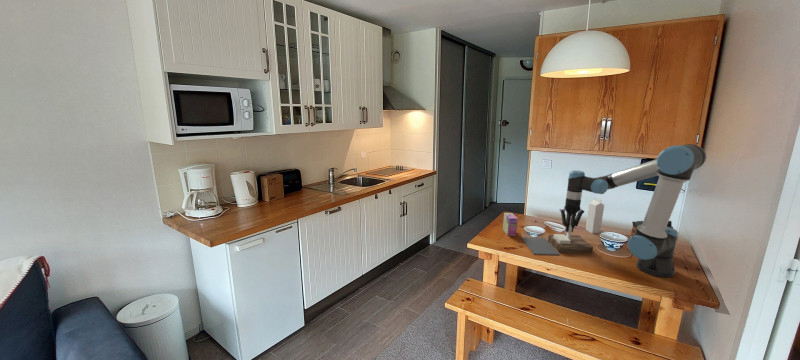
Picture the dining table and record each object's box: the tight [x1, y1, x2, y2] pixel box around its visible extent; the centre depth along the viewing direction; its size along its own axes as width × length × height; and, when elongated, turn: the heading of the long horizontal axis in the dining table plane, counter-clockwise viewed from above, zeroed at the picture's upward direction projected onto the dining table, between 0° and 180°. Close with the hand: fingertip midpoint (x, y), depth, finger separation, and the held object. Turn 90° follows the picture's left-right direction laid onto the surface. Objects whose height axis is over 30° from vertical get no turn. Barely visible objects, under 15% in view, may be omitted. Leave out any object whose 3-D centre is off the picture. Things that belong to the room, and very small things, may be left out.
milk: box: [585, 197, 605, 234], centre depth 211 cm, size 6×6×22 cm
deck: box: [547, 234, 594, 255], centre depth 190 cm, size 16×18×4 cm
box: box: [502, 212, 519, 237], centre depth 210 cm, size 10×6×12 cm, turn 179°
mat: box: [521, 237, 561, 256], centre depth 191 cm, size 22×14×1 cm, turn 177°
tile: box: [552, 233, 571, 244], centre depth 189 cm, size 9×6×2 cm, turn 176°
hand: (568, 237), depth 189 cm, fingers closed
